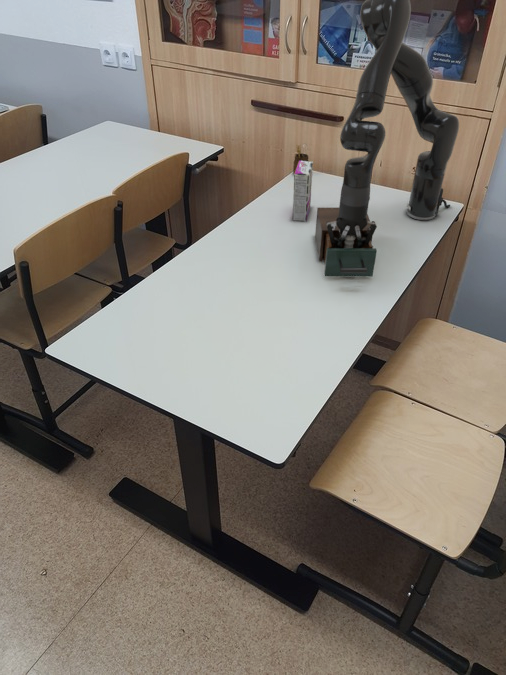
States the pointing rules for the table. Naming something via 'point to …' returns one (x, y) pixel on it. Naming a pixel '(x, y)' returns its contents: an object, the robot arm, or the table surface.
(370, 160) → the robot arm
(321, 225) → the cabinet
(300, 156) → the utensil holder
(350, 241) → the rook chess piece
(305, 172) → the candy bar box
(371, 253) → the drawer
